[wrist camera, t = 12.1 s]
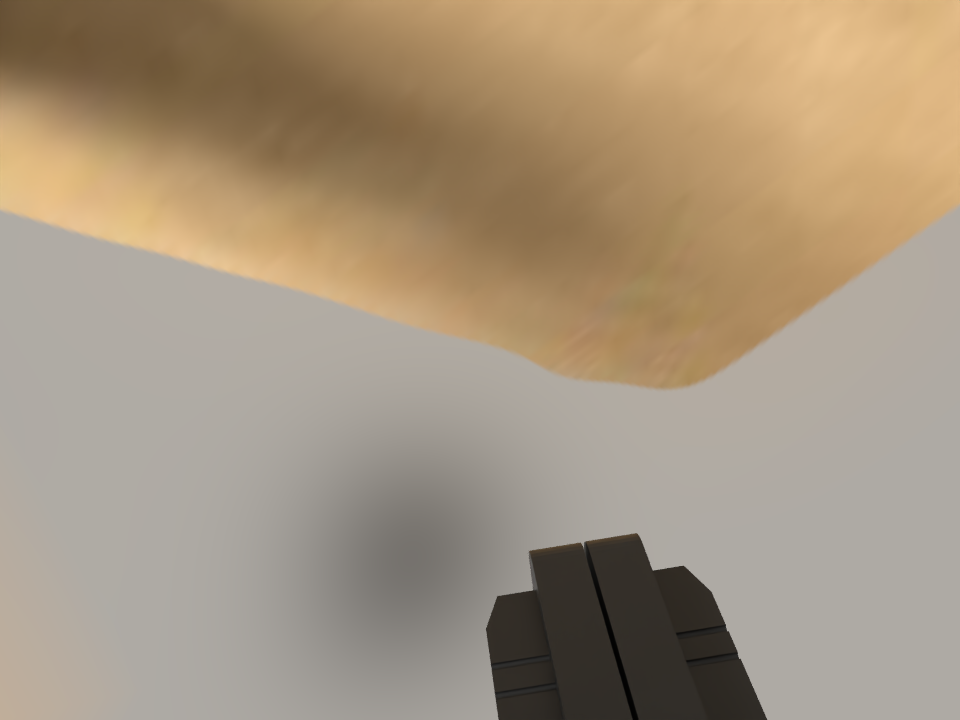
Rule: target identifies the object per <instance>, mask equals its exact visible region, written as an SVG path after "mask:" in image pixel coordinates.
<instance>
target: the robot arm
mask: <svg viewBox="0 0 960 720" xmlns="http://www.w3.org/2000/svg"><path fill="white" fill-rule="evenodd" d="M529 559H530V568H531V576H532V584H533V591H527V592H521V593H515V594H509V595H502V596H498V597H497V599H496V602H495V605H494V608H493V611H492V613H491V616H490V619H489V622H488V625H487V628H486V631H487V638H488V646H489V653H490V660H491V667H492V675H493V682H494V689H495V696H496V704H497V711H498V718H499V720H767V718H766V716H765V714H764V712H763V709H762V707H761V705H760V702H759V700H758V698H757V695H756V693H755V691H754V688H753V686H752V684H751V682H750V679H749V677H748V675H747V673H746V670H745V668H744V666H743V663H742V661H741V659H739V657H738V652H737V650H736V647H735V645H734V643H733V640H732V638H731V636H730V633H729V632H728V631H727V629H726V624H725V622H724V620H723V617H722V616H721V613H720V611H719V609H718V606H717V604H716V601H715V599H714V597H713V594H712V592H711V591H710V590H709V589H708V588H707V587H706V586H705V585H704V584H702V583H701V582H700V581H699V580H698V579H697V578H696V577H695V576H694V575H693V574H692V573H691V572H690V571H689V570H688V569H687V568H685V567H684V566H679V567H673V568H667V569H660V570H654V571H653V570H652V568H651V566H650V562H649V560H648V557H647V554H646V552H645V549H644V546H643V544H642V541H641V539H640V537H639V535H638V534H637V533H635V534H630V535H623V536H617V537H611V538H604V539H598V540H592V541H586V542H584V549H583V546H582V544H581V543H576V544H569V545H563V546H556V547H550V548H545V549H538V550H532V551H529Z"/></svg>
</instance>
